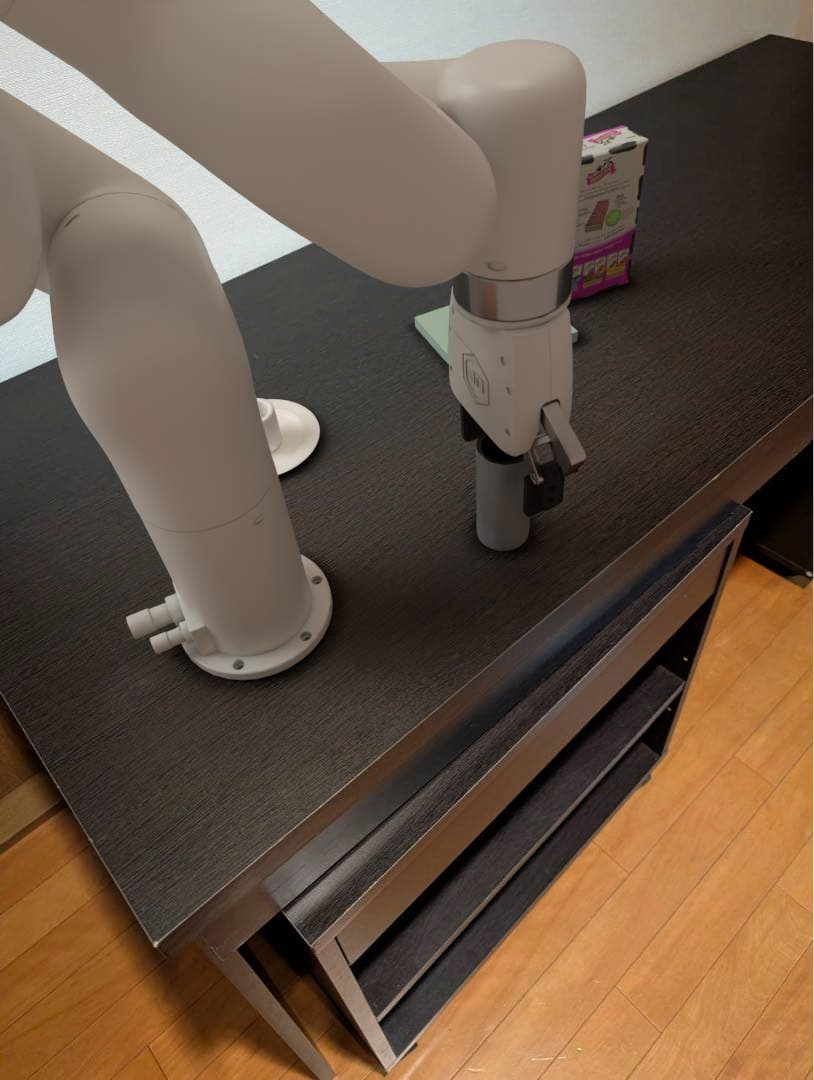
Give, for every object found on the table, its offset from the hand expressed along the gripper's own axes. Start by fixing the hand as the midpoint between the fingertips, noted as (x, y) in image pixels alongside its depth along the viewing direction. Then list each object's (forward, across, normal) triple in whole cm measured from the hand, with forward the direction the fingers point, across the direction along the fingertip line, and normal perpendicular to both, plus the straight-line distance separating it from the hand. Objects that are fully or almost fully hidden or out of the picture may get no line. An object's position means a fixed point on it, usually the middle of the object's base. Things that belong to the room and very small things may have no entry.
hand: (509, 469), depth 61 cm
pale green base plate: (+8, -26, +13) cm, 30 cm away
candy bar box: (+8, -29, +26) cm, 40 cm away
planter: (+7, 0, -1) cm, 8 cm away
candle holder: (+7, -22, -16) cm, 28 cm away
